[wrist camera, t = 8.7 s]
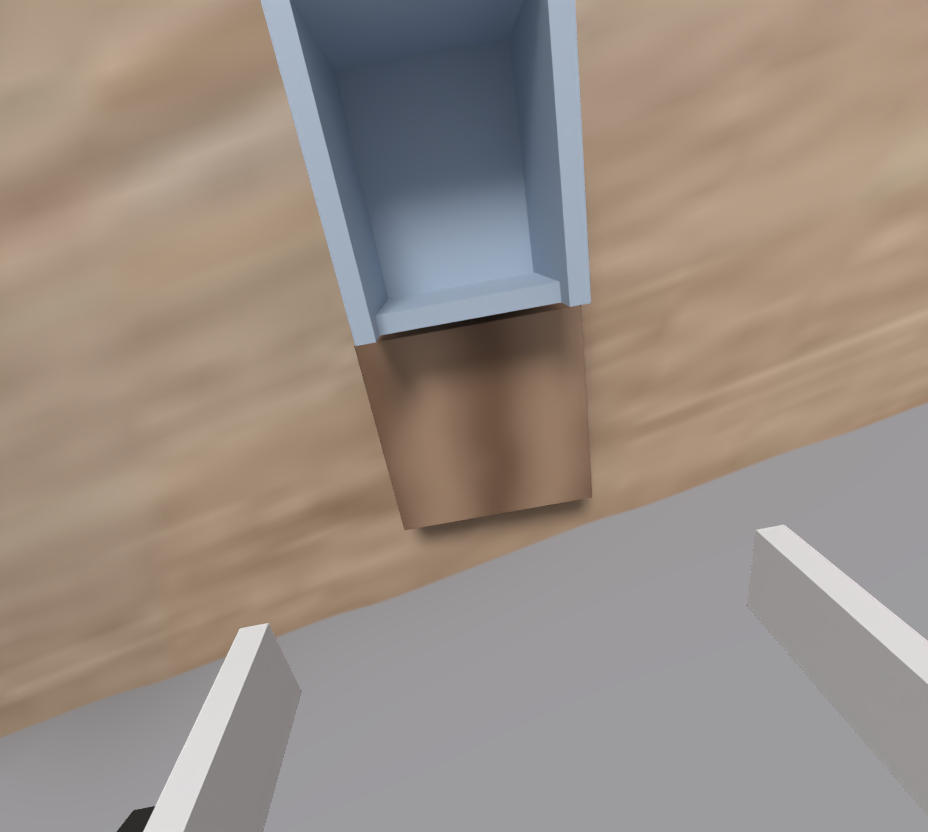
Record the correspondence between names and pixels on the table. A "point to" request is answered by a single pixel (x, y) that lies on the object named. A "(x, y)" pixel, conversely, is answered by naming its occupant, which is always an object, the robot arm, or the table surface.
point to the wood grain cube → (482, 414)
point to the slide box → (440, 153)
